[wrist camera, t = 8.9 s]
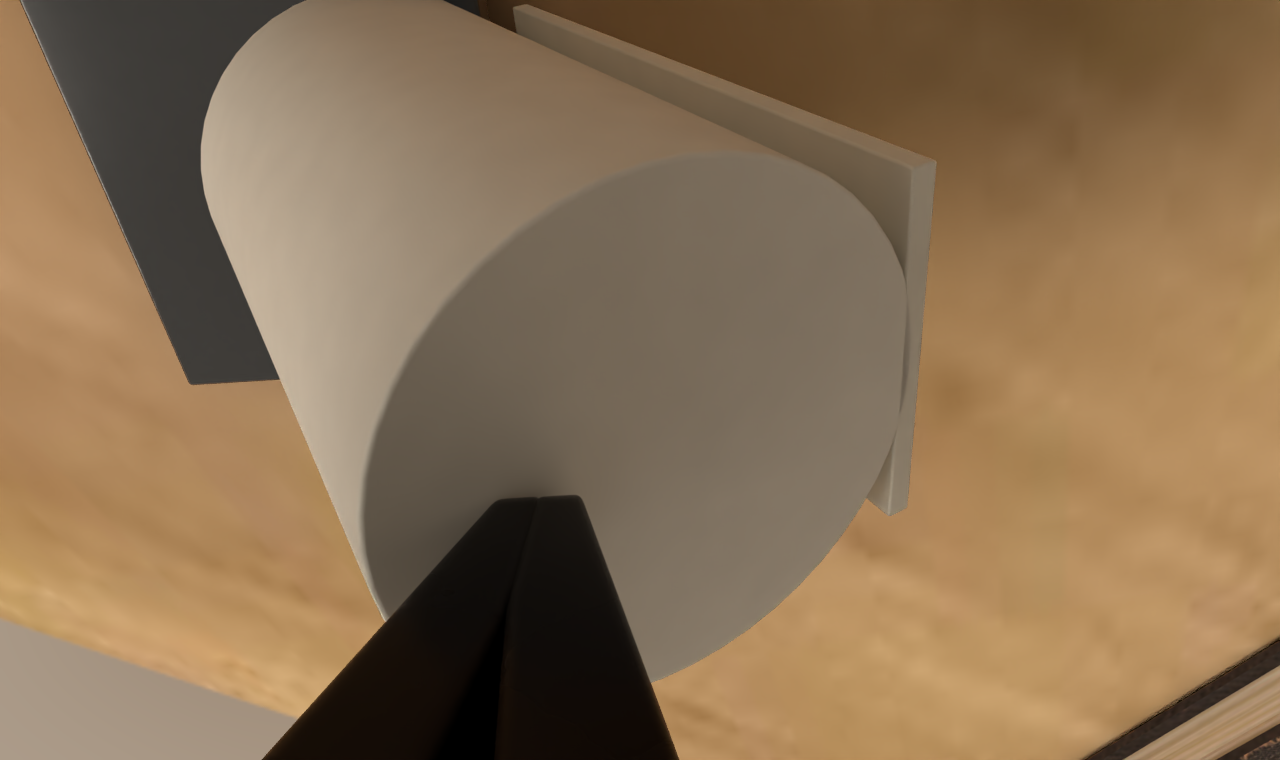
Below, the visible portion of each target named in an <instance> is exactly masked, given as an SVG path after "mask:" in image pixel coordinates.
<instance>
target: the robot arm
mask: <svg viewBox="0 0 1280 760" xmlns="http://www.w3.org/2000/svg"><path fill="white" fill-rule="evenodd" d="M262 760H679V758H678V755H677V752H676V750H675V747H674V744H673V741H672V739H671V736H670V733H669V731H668V728H667V725H666V723H665V720H664V717H663V714H662V712H661V709H660V706H659V704H658V701H657V698H656V696H655V693H654V690H653V688H652V685H651V682H650V679H649V677H648V674H647V671H646V669H645V666H644V663H643V661H642V658H641V655H640V652H639V650H638V647H637V644H636V642H635V639H634V636H633V634H632V631H631V628H630V626H629V623H628V620H627V617H626V615H625V612H624V609H623V607H622V604H621V601H620V599H619V596H618V593H617V590H616V588H615V585H614V582H613V580H612V577H611V574H610V572H609V569H608V566H607V564H606V561H605V558H604V555H603V553H602V550H601V547H600V545H599V542H598V539H597V537H596V534H595V531H594V528H593V526H592V523H591V520H590V518H589V515H588V512H587V510H586V507H585V504H584V502H583V500H582V498H581V497H580V496H578V495H559V496H543V497H540V498H537V497H523V498H506V499H500V500H497V501H495V502H494V503H493V504H492V505H491V506H490V507H489V508H488V509H487V510H486V511H485V512H484V513H483V514H482V516H481V517H480V518H479V519H478V520H477V521H476V522H475V523H474V524H473V526H472V527H471V528H470V529H469V530H468V531H467V532H466V533H465V534H464V535H463V537H462V538H461V539H460V540H459V541H458V542H457V543H456V544H455V545H454V547H453V548H452V549H451V550H450V551H449V552H448V553H447V554H446V555H445V557H444V558H443V559H442V560H441V561H440V562H439V563H438V564H437V565H436V567H435V568H434V569H433V570H432V571H431V572H430V573H429V574H428V575H427V577H426V578H425V579H424V580H423V581H422V582H421V583H420V584H419V585H418V587H417V588H416V589H415V590H414V591H413V592H412V593H411V594H410V595H409V597H408V598H407V599H406V600H405V601H404V602H403V603H402V604H401V605H400V607H399V608H398V609H397V610H396V611H395V612H394V613H393V614H392V615H391V617H390V618H389V619H388V620H387V621H386V622H385V623H384V624H383V625H382V627H381V628H380V629H379V630H378V631H377V632H376V633H375V634H374V635H373V637H372V638H371V639H370V640H369V641H368V642H367V643H366V644H365V645H364V647H363V648H362V649H361V650H360V651H359V652H358V653H357V654H356V655H355V657H354V658H353V659H352V660H351V661H350V662H349V663H348V664H347V665H346V667H345V668H344V669H343V670H342V671H341V672H340V673H339V674H338V675H337V677H336V678H335V679H334V680H333V681H332V682H331V683H330V684H329V685H328V687H327V688H326V689H325V690H324V691H323V692H322V693H321V694H320V695H319V697H318V698H317V699H316V700H315V701H314V702H313V703H312V704H311V705H310V707H309V708H308V709H307V710H306V711H305V712H304V713H303V714H302V715H301V717H300V718H299V719H298V720H297V721H296V722H295V723H294V724H293V726H292V727H291V728H290V729H289V730H288V731H287V732H286V733H285V734H284V736H283V737H282V738H281V739H280V740H279V741H278V742H277V743H276V745H274V747H273V748H272V749H271V750H270V751H269V752H268V753H267V754H266V756H265V757H264V758H263V759H262Z"/></svg>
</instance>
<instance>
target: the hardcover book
mask: <svg viewBox="0 0 1280 760" xmlns="http://www.w3.org/2000/svg"><path fill="white" fill-rule="evenodd" d="M1086 760H1280V640H1279V641H1278V642H1276V643H1274V644H1273V645H1271V646H1269V647H1268V648H1266V649H1265V650H1263V651H1261V652H1260V653H1258V654H1256V655H1255V656H1253V657H1252V658H1250V659H1248V660H1247V661H1245V662H1243V663H1242V664H1240V665H1239V666H1237V667H1235V668H1234V669H1232V670H1231V671H1229V672H1227V673H1226V674H1224V675H1222V676H1221V677H1219V678H1218V679H1216V680H1214V681H1213V682H1211V683H1209V684H1208V685H1206V686H1205V687H1203V688H1201V689H1200V690H1198V691H1196V692H1195V693H1193V694H1192V695H1190V696H1188V697H1187V698H1185V699H1184V700H1182V701H1180V702H1179V703H1177V704H1175V705H1174V706H1172V707H1171V708H1169V709H1167V710H1166V711H1164V712H1162V713H1161V714H1159V715H1158V716H1156V717H1154V718H1153V719H1151V720H1149V721H1148V722H1146V723H1145V724H1143V725H1141V726H1140V727H1138V728H1136V729H1135V730H1133V731H1132V732H1130V733H1128V734H1127V735H1125V736H1124V737H1122V738H1120V739H1119V740H1117V741H1115V742H1114V743H1112V744H1111V745H1109V746H1107V747H1106V748H1104V749H1102V750H1101V751H1099V752H1098V753H1096V754H1094V755H1093V756H1091V757H1089V758H1088V759H1086Z"/></svg>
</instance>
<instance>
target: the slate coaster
mask: <svg viewBox="0 0 1280 760" xmlns="http://www.w3.org/2000/svg"><path fill="white" fill-rule="evenodd" d="M303 1H306V0H20V2H21V5H22V7H23V9H24V11H25V14H26V16H27V18H28V20H29V23H30V25H31V27H32V29H33V32H34V34H35V36H36V38H37V41H38V43H39V45H40V47H41V50H42V52H43V54H44V57H45V59H46V61H47V63H48V66H49V68H50V70H51V72H52V75H53V77H54V79H55V81H56V84H57V86H58V88H59V90H60V93H61V95H62V97H63V99H64V102H65V104H66V106H67V108H68V111H69V113H70V115H71V118H72V120H73V122H74V124H75V127H76V129H77V131H78V133H79V136H80V138H81V140H82V142H83V145H84V147H85V149H86V151H87V154H88V156H89V158H90V160H91V163H92V165H93V167H94V170H95V172H96V174H97V176H98V179H99V181H100V183H101V185H102V188H103V190H104V192H105V194H106V197H107V199H108V201H109V203H110V206H111V208H112V210H113V212H114V215H115V217H116V219H117V222H118V224H119V226H120V228H121V231H122V233H123V235H124V237H125V240H126V242H127V244H128V246H129V249H130V251H131V253H132V255H133V258H134V260H135V262H136V264H137V267H138V269H139V271H140V274H141V276H142V278H143V280H144V283H145V285H146V287H147V289H148V292H149V294H150V296H151V298H152V301H153V303H154V305H155V307H156V310H157V312H158V314H159V316H160V319H161V321H162V323H163V326H164V328H165V330H166V332H167V335H168V337H169V339H170V341H171V344H172V346H173V348H174V350H175V353H176V355H177V357H178V359H179V362H180V364H181V366H182V368H183V371H184V373H185V375H186V378H187V380H188V382H189V384H191V385H201V384H217V383H233V382H249V381H265V380H280V378H279V376H278V373H277V371H276V368H275V366H274V364H273V361H272V359H271V357H270V354H269V352H268V350H267V347H266V345H265V342H264V340H263V338H262V335H261V333H260V331H259V328H258V326H257V324H256V321H255V319H254V316H253V314H252V312H251V309H250V307H249V305H248V302H247V300H246V298H245V295H244V293H243V290H242V288H241V286H240V283H239V281H238V279H237V276H236V274H235V271H234V269H233V267H232V264H231V262H230V260H229V257H228V255H227V253H226V250H225V248H224V245H223V243H222V241H221V238H220V236H219V234H218V231H217V229H216V227H215V224H214V222H213V219H212V217H211V214H210V211H209V207H208V204H207V201H206V197H205V194H204V187H203V180H202V174H201V142H202V135H203V128H204V121H205V118H206V114H207V111H208V108H209V104H210V101H211V98H212V95H213V93H214V91H215V89H216V87H217V85H218V83H219V80H220V78H221V76H222V74H223V73H224V71H225V70H226V68H227V67H228V65H229V64H230V62H231V61H232V59H233V58H234V56H235V55H236V53H237V52H238V51H239V50H240V49H241V48H242V47H243V45H244V44H245V43H246V42H247V41H248V40H249V39H250V38H251V37H252V35H253V34H255V33H256V32H257V31H258V30H259V29H261V28H262V27H263V26H264V25H265V24H267V23H268V22H269V21H270V20H271V19H273V18H274V17H276V16H278V15H279V14H281V13H282V12H284V11H286V10H287V9H289V8H291V7H292V6H294V5H296V4H299V3H301V2H303ZM443 1H446V2H448V3H450V4H452V5H454V6H457V7H459V8H461V9H463V10H466V11H468V12H470V13H472V14H474V15H477V16H479V17H481V18H483V19H485V20H488V21H490V19H489V14H488V8H487V3H486V0H443Z"/></svg>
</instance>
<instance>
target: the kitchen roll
mask: <svg viewBox="0 0 1280 760" xmlns="http://www.w3.org/2000/svg"><path fill="white" fill-rule="evenodd" d="M513 13H514V19H515V26H516V32H517V34H516V33H514V32H512V31H510V30H507V29H505V28H503V27H501V26H499V25H496V24H494V23H492V22H490V21H488V20H485V19H483V18H481V17H479V16H477V15H474V14H472V13H470V12H468V11H466V10H463V9H461V8H459V7H457V6H454V5H452V4H450V3H448V2H446V1H443V0H306V1H303V2H301V3H299V4H296V5H294V6H292V7H291V8H289V9H287V10H286V11H284V12H282V13H281V14H279V15H278V16H276V17H274V18H273V19H271V20H270V21H269V22H268V23H267V24H265V25H264V26H263V27H262V28H261V29H259V30H258V31H257V32H256V33H255V34H253V35H252V37H251V38H250V39H249V40H248V41H247V42H246V43H245V44H244V45H243V47H242V48H241V49H240V50H239V51H238V52H237V53H236V55H235V56H234V58H233V59H232V61H231V62H230V64H229V65H228V67H227V68H226V70H225V71H224V73H223V74H222V76H221V78H220V80H219V83H218V85H217V87H216V89H215V91H214V93H213V95H212V98H211V101H210V104H209V108H208V111H207V114H206V118H205V121H204V128H203V135H202V142H201V174H202V180H203V187H204V194H205V197H206V201H207V204H208V207H209V211H210V214H211V217H212V219H213V222H214V224H215V227H216V229H217V231H218V234H219V236H220V238H221V241H222V243H223V245H224V248H225V250H226V253H227V255H228V257H229V260H230V262H231V264H232V267H233V269H234V271H235V274H236V276H237V279H238V281H239V283H240V286H241V288H242V290H243V293H244V295H245V298H246V300H247V302H248V305H249V307H250V309H251V312H252V314H253V316H254V319H255V321H256V324H257V326H258V328H259V331H260V333H261V335H262V338H263V340H264V342H265V345H266V347H267V350H268V352H269V354H270V357H271V359H272V361H273V364H274V366H275V368H276V371H277V373H278V376H279V378H280V380H281V383H282V385H283V387H284V390H285V392H286V395H287V397H288V399H289V402H290V404H291V406H292V409H293V411H294V413H295V416H296V418H297V421H298V423H299V425H300V428H301V430H302V432H303V435H304V437H305V439H306V442H307V444H308V447H309V449H310V451H311V454H312V456H313V458H314V461H315V463H316V465H317V468H318V470H319V473H320V475H321V477H322V480H323V482H324V484H325V487H326V489H327V491H328V494H329V496H330V499H331V501H332V503H333V506H334V508H335V510H336V513H337V515H338V518H339V520H340V522H341V525H342V527H343V529H344V532H345V534H346V536H347V539H348V541H349V544H350V546H351V548H352V551H353V553H354V555H355V558H356V560H357V562H358V565H359V567H360V570H361V572H362V574H363V577H364V579H365V581H366V584H367V586H368V588H369V590H370V593H371V595H372V597H373V599H374V601H375V603H376V605H377V607H378V610H379V612H380V614H381V616H382V618H383V619H384V621H385V622H386V621H387V620H388V619H389V618H390V617H391V615H392V614H393V613H394V612H395V611H396V610H397V609H398V608H399V607H400V605H401V604H402V603H403V602H404V601H405V600H406V599H407V598H408V597H409V595H410V594H411V593H412V592H413V591H414V590H415V589H416V588H417V587H418V585H419V584H420V583H421V582H422V581H423V580H424V579H425V578H426V577H427V575H428V574H429V573H430V572H431V571H432V570H433V569H434V568H435V567H436V565H437V564H438V563H439V562H440V561H441V560H442V559H443V558H444V557H445V555H446V554H447V553H448V552H449V551H450V550H451V549H452V548H453V547H454V545H455V544H456V543H457V542H458V541H459V540H460V539H461V538H462V537H463V535H464V534H465V533H466V532H467V531H468V530H469V529H470V528H471V527H472V526H473V524H474V523H475V522H476V521H477V520H478V519H479V518H480V517H481V516H482V514H483V513H484V512H485V511H486V510H487V509H488V508H489V507H490V506H491V505H492V504H493V503H494V502H495V501H497V500H500V499H506V498H523V497H537V498H540V497H543V496H559V495H578V496H580V497H581V498H582V500H583V502H584V504H585V507H586V510H587V512H588V515H589V518H590V520H591V523H592V526H593V528H594V531H595V534H596V537H597V539H598V542H599V545H600V547H601V550H602V553H603V555H604V558H605V561H606V564H607V566H608V569H609V572H610V574H611V577H612V580H613V582H614V585H615V588H616V590H617V593H618V596H619V599H620V601H621V604H622V607H623V609H624V612H625V615H626V617H627V620H628V623H629V626H630V628H631V631H632V634H633V636H634V639H635V642H636V644H637V647H638V650H639V652H640V655H641V658H642V661H643V663H644V666H645V669H646V671H647V674H648V677H649V679H650V682H651V683H652V682H654V681H657V680H660V679H663V678H665V677H667V676H669V675H671V674H673V673H676V672H678V671H680V670H682V669H684V668H686V667H688V666H691V665H693V664H694V663H696V662H698V661H700V660H701V659H703V658H705V657H707V656H708V655H710V654H712V653H714V652H715V651H717V650H719V649H721V648H722V647H724V646H725V645H727V644H728V643H729V642H731V641H732V640H734V639H735V638H737V637H738V636H740V635H741V634H743V633H744V632H745V631H747V630H748V629H750V628H751V627H752V626H753V625H755V624H756V623H757V622H758V621H760V620H761V619H762V618H763V617H765V616H766V615H767V614H768V613H770V612H771V611H772V610H773V609H775V608H776V607H777V606H778V605H779V604H780V603H781V602H782V601H783V600H784V599H785V598H786V597H787V596H788V595H790V594H791V593H792V592H793V591H794V590H795V589H796V588H797V587H798V586H799V585H800V584H801V583H802V582H803V581H804V580H805V579H806V577H807V576H808V575H809V574H810V573H811V572H812V571H813V570H814V569H815V568H816V567H817V565H818V564H819V563H820V562H821V561H822V560H823V559H824V557H825V556H826V555H827V554H828V552H829V551H830V550H831V548H832V547H833V546H834V545H835V543H836V542H837V541H838V540H839V538H840V537H841V536H842V534H843V533H844V531H845V530H846V528H847V527H848V526H849V524H850V523H851V521H852V520H853V518H854V517H855V515H856V514H857V512H858V511H859V509H860V508H861V506H862V504H863V502H864V500H865V499H866V498H867V499H868V500H870V501H871V502H872V503H873V504H874V505H876V506H877V507H878V508H879V509H881V510H882V511H883V512H884V513H885V514H887V515H888V516H892V515H894V514H896V513H898V512H900V511H902V510H904V509H906V507H907V504H908V492H909V480H910V468H911V457H912V445H913V433H914V422H915V410H916V398H917V387H918V375H919V363H920V352H921V340H922V328H923V317H924V305H925V293H926V281H927V270H928V258H929V246H930V235H931V223H932V211H933V200H934V188H935V176H936V165H937V163H936V161H935V160H933V159H930V158H928V157H925V156H922V155H920V154H917V153H915V152H912V151H909V150H907V149H904V148H902V147H899V146H896V145H894V144H891V143H889V142H886V141H883V140H881V139H878V138H875V137H873V136H870V135H868V134H865V133H862V132H860V131H857V130H855V129H852V128H849V127H847V126H844V125H841V124H839V123H836V122H834V121H831V120H828V119H826V118H823V117H821V116H818V115H815V114H813V113H810V112H807V111H805V110H802V109H800V108H797V107H794V106H792V105H789V104H787V103H784V102H781V101H779V100H776V99H774V98H771V97H768V96H766V95H763V94H760V93H758V92H755V91H753V90H750V89H747V88H745V87H742V86H740V85H737V84H734V83H732V82H729V81H726V80H724V79H721V78H719V77H716V76H713V75H711V74H708V73H706V72H703V71H700V70H698V69H695V68H692V67H690V66H687V65H685V64H682V63H679V62H677V61H674V60H672V59H669V58H666V57H664V56H661V55H659V54H656V53H653V52H651V51H648V50H645V49H643V48H640V47H638V46H635V45H632V44H630V43H627V42H625V41H622V40H619V39H617V38H614V37H611V36H609V35H606V34H604V33H601V32H598V31H596V30H593V29H591V28H588V27H585V26H583V25H580V24H578V23H575V22H572V21H570V20H567V19H564V18H562V17H559V16H557V15H554V14H551V13H549V12H546V11H544V10H541V9H538V8H536V7H533V6H530V5H528V4H525V5H520V6H515V7H513Z"/></svg>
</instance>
